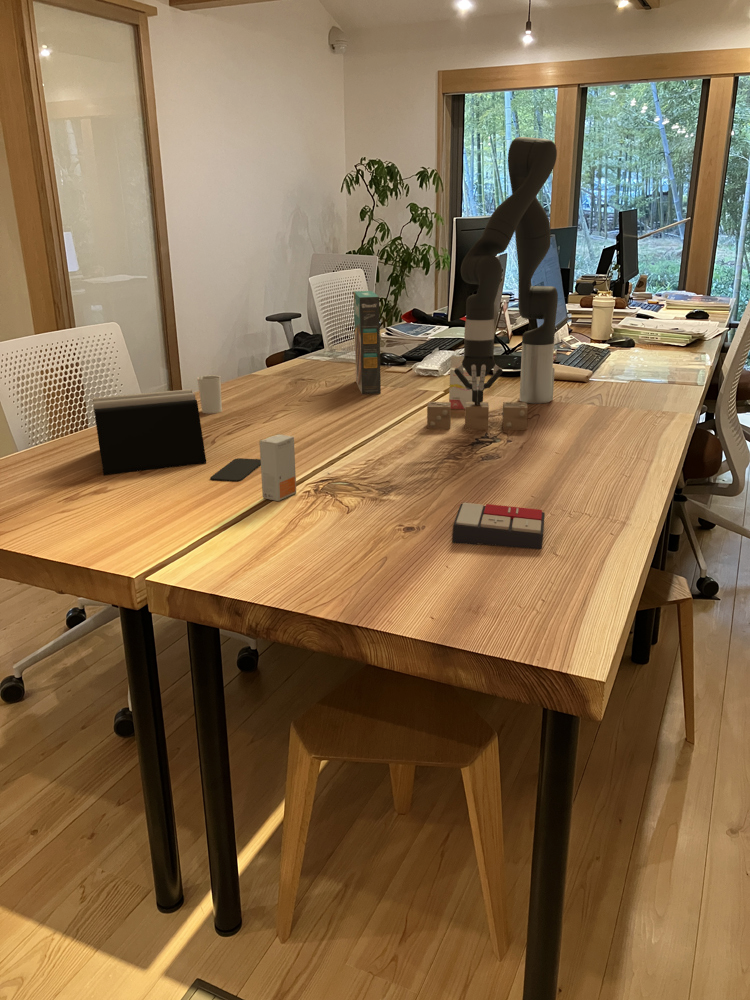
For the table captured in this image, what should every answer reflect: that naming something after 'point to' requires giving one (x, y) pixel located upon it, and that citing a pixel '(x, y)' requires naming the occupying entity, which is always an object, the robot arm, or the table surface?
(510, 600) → the table surface
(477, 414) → the plain walnut cube
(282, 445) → the skincare box
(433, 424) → the three pip cube
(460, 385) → the ink cartridge box
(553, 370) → the robot arm
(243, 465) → the phone
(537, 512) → the button keypad
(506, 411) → the two pip cube
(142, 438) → the device stand
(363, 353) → the cake mix box
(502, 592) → the table surface
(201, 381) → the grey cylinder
